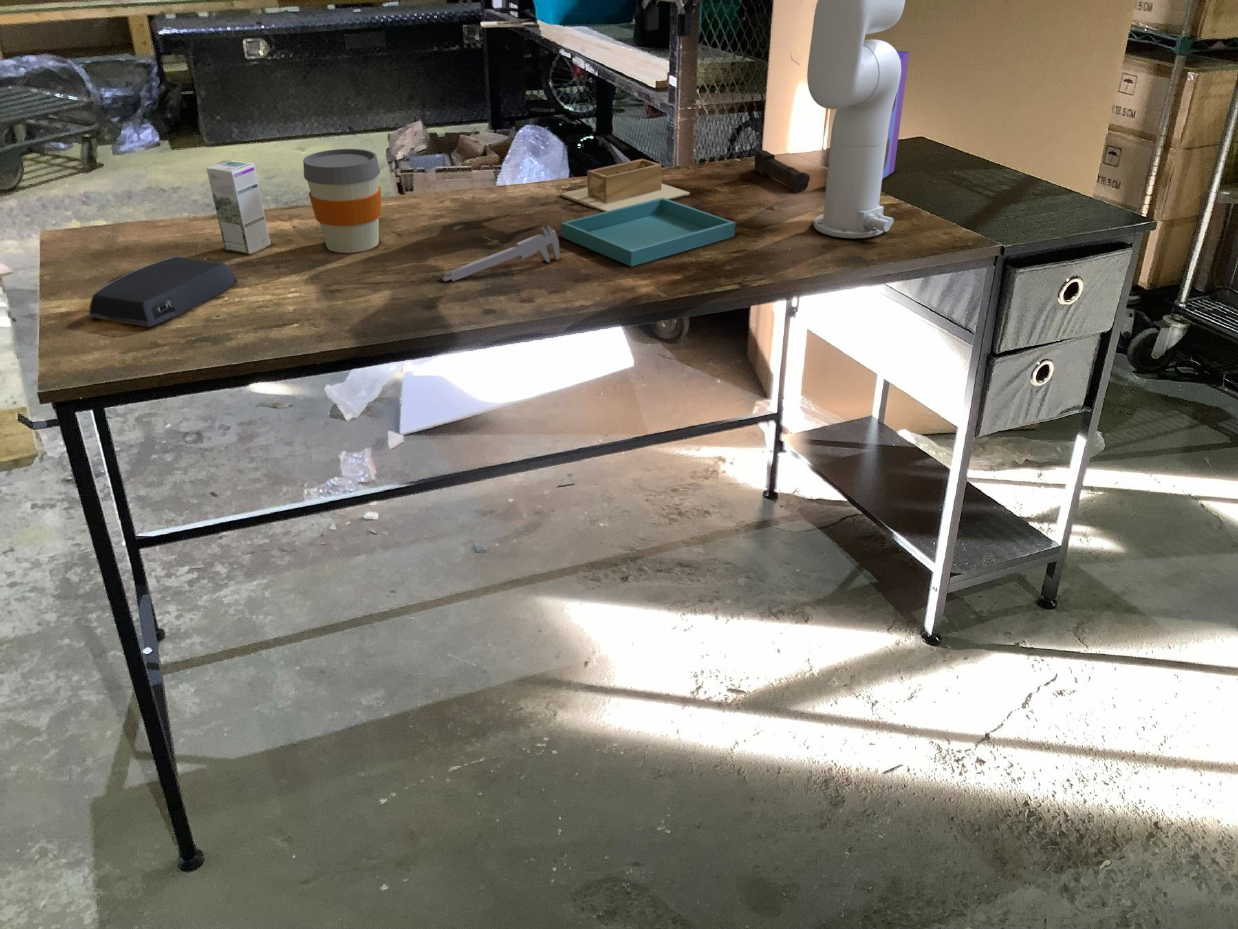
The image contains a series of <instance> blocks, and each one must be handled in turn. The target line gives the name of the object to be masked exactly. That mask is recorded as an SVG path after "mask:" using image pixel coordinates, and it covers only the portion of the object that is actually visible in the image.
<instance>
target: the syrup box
mask: <svg viewBox="0 0 1238 929" xmlns="http://www.w3.org/2000/svg"><path fill="white" fill-rule="evenodd" d="M206 172H207V176H208V181H209V186H210V189H211V195H212V199H213V203H214V208H215V212H216V216H217V221H218V226H219V230H220V233H221V238H222V243H223V247H224V251H229V252H234V253H240V254H246V255H251V254H254V253H257V252H259V251H261V250H263V249H265V248H267V247H269V246H271V245H272V244H271V238H270V235H269V234H270V233H269V228H268V224H267V220H266V213H265V209H264V205H263V199H262V195H261V189H260V184H259V179H258V174H257V169H256V165H255V163H254V162H249V161H248V162H247V161H240V160H239V161H238V160H232V159H226V160H222V161H220V162H217V163H214V164H212V165H210V166H207V167H206Z"/></svg>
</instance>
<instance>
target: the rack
mask: <svg viewBox="0 0 1238 929" xmlns="http://www.w3.org/2000/svg"><path fill="white" fill-rule="evenodd" d="M662 166H663V165H662V164H661V163H657V162H654V161H651V160H648V159H644V158H640V159H635V160H631V161H625V162H621V163H617V164H612V165H608V166H607V165H606V166H604V167H599V168H594V169H589V170H587V171H586V178H587V180H586V181H587V182H586V183H587V187H588V196H589V197H594V198H597V199H599V200H602V201H604V202H605V203H609V202H613V201H617V200H621V199H625V198H629V197H633V196H638V195H642V194H646V193H650V192H654V191H658V190H661V183H662V180H663V179H662V178H663V177H662V171H663V170H662V169H663V167H662Z"/></svg>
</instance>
